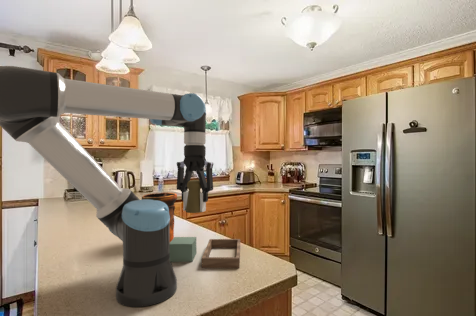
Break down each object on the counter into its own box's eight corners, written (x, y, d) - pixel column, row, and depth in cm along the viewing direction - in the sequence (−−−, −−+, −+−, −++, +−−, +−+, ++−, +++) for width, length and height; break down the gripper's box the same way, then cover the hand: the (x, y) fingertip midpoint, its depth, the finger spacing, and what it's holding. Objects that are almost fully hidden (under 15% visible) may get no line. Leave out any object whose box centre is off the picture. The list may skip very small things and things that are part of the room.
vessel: (170, 247, 104) (168, 196, 105) (136, 247, 107) (134, 197, 107) (183, 237, 119) (182, 191, 119) (153, 236, 121) (151, 192, 121)
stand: (192, 261, 91) (192, 244, 91) (168, 261, 91) (168, 244, 91) (196, 253, 99) (196, 236, 99) (174, 253, 99) (174, 237, 99)
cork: (183, 210, 95) (183, 179, 96) (199, 209, 99) (199, 179, 99) (189, 213, 90) (189, 180, 90) (205, 212, 93) (206, 180, 93)
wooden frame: (239, 267, 85) (239, 258, 85) (201, 267, 86) (201, 258, 85) (240, 246, 105) (240, 239, 105) (209, 246, 106) (209, 239, 105)
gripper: (223, 145, 95) (223, 210, 95) (177, 145, 102) (177, 207, 101) (214, 143, 88) (214, 214, 88) (165, 144, 95) (165, 210, 94)
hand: (194, 210), depth 95 cm, fingers closed on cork, 6 cm apart
